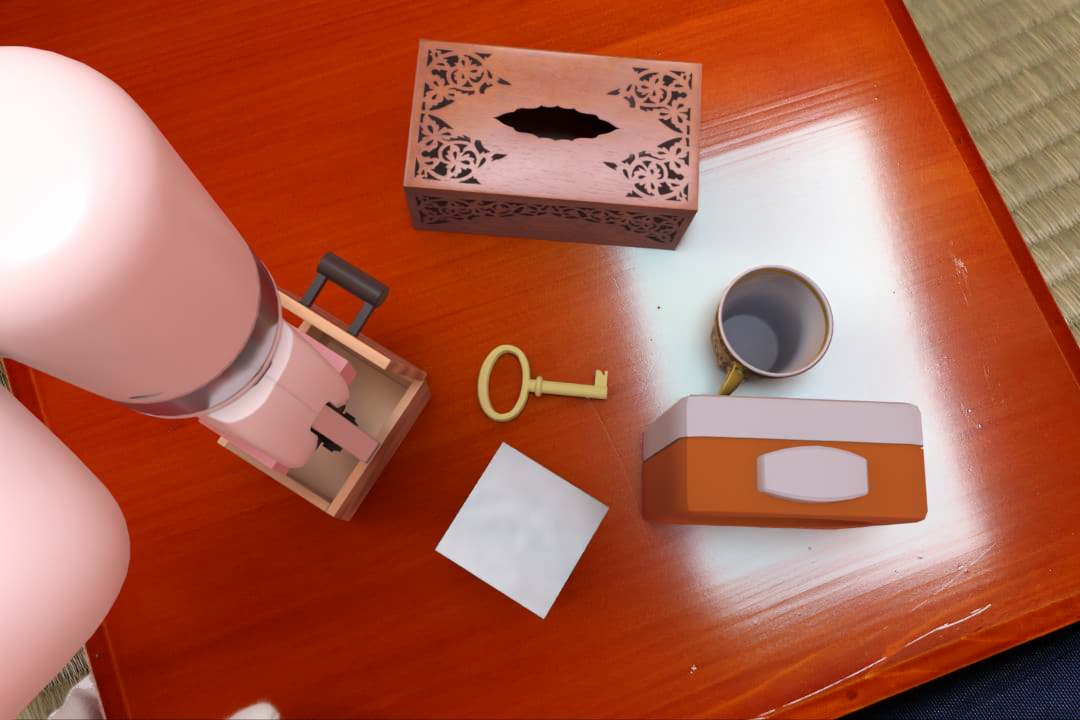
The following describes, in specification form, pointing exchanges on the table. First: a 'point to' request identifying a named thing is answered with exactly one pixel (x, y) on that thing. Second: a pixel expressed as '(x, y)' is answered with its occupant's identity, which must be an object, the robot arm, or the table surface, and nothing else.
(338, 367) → the pale pink rectangular box
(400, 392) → the chest
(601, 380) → the key
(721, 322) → the ceramic cup
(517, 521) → the stand
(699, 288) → the table surface
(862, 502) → the orange white box
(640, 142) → the tissue box cover
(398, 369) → the lid
